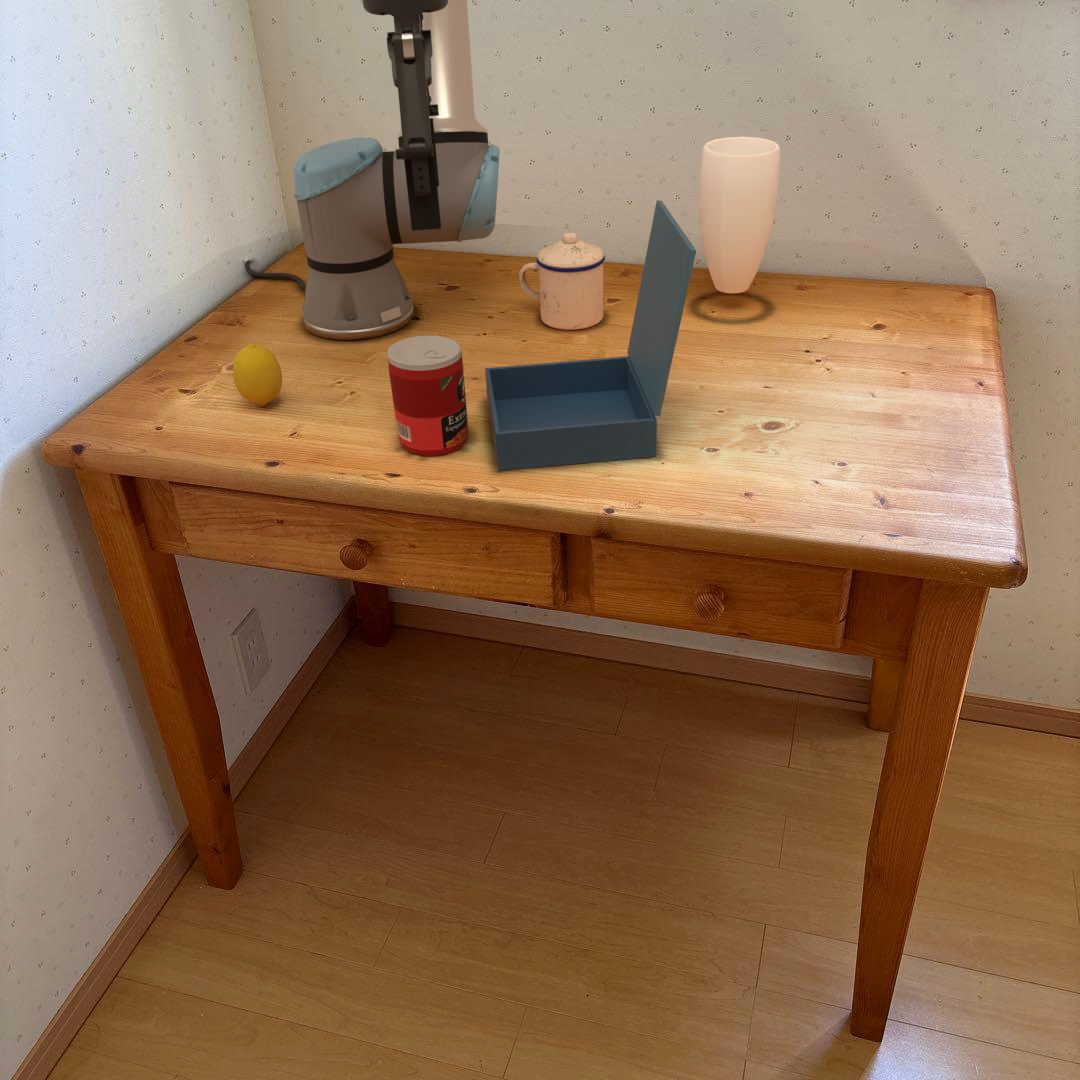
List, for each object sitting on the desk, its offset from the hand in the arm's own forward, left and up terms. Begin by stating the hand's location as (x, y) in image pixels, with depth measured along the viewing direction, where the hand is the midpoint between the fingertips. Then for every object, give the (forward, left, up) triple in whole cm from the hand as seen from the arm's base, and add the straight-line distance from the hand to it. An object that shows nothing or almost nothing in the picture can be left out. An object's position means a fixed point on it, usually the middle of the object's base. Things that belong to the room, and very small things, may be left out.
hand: (426, 206), depth 103 cm
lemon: (-23, -9, -26) cm, 36 cm away
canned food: (-1, -1, -26) cm, 26 cm away
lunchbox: (+9, +10, -26) cm, 29 cm away
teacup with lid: (-13, +33, -26) cm, 44 cm away
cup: (+3, +50, -26) cm, 57 cm away
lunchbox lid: (+15, +18, -12) cm, 26 cm away
